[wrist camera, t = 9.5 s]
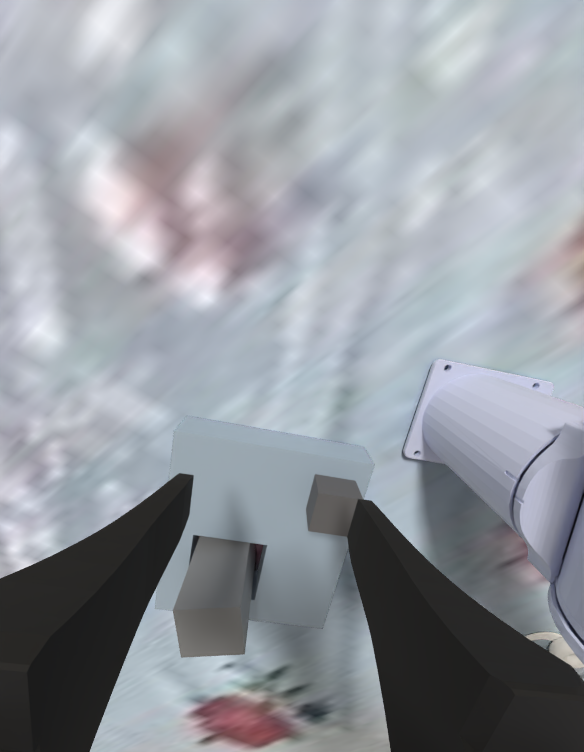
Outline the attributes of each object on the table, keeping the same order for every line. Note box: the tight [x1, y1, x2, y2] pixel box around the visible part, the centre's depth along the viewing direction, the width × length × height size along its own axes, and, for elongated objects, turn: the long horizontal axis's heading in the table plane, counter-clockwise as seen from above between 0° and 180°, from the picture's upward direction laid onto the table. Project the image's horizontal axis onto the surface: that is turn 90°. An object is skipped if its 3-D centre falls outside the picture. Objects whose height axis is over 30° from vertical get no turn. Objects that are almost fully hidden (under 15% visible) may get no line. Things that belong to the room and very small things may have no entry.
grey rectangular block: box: [173, 536, 256, 657], centre depth 20 cm, size 4×4×7 cm
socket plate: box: [155, 416, 375, 629], centre depth 21 cm, size 14×16×4 cm
